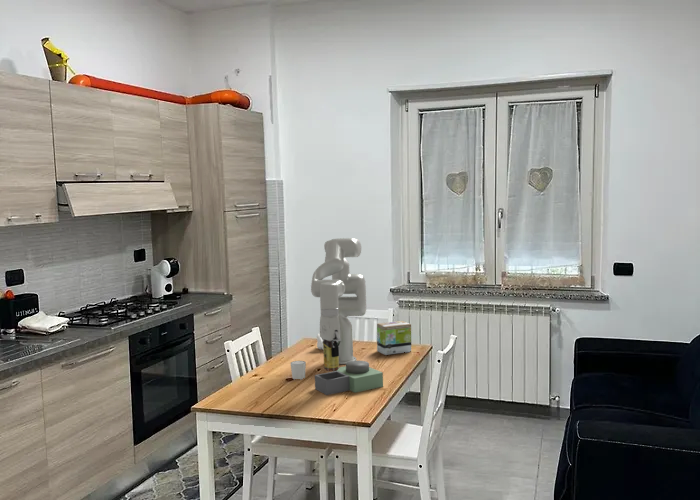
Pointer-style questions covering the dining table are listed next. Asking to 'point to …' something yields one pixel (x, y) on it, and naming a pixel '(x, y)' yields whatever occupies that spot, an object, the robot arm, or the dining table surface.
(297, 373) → the shot glass
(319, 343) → the white knot sculpture
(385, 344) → the tea box
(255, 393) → the dining table surface
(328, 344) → the sauce bottle
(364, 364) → the grey and green blocks
